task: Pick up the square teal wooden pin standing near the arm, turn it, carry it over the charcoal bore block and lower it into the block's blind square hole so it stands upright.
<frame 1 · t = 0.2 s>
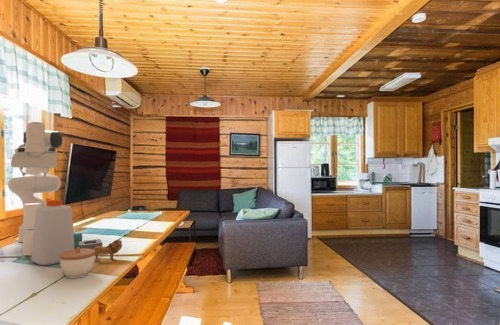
hand: (34, 175, 162), 39 cm above the table, tool pointing down, fingers open, 8 cm apart
bore block: (90, 251, 156), on the table
lidded bowl: (77, 275, 122), on the table
plastic bottle: (53, 260, 142), on the table
teal pin: (77, 248, 162), on the table
lion figurine: (106, 260, 143), on the table
cylindrical container: (31, 254, 152), on the table
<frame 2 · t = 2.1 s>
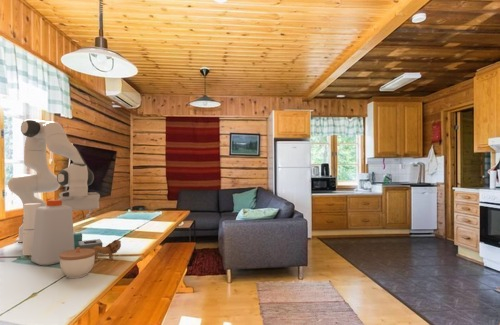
hand: (78, 218, 162), 16 cm above the table, tool pointing down, fingers open, 8 cm apart
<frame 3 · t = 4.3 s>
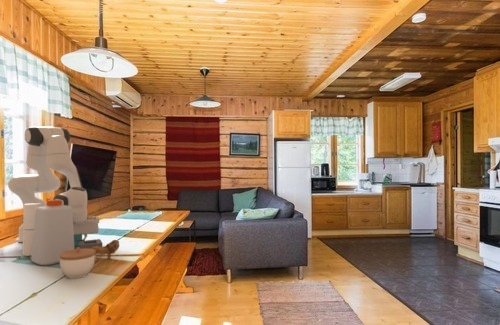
hand: (77, 243, 162), 3 cm above the table, tool pointing down, fingers closed on teal pin, 4 cm apart
teal pin: (77, 248, 162), on the table, touching gripper
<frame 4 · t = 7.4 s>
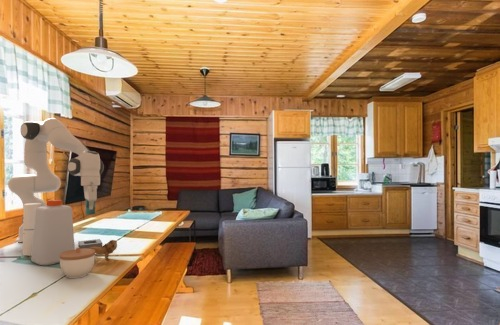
hand: (90, 208, 156), 22 cm above the table, tool pointing down, fingers closed on teal pin, 4 cm apart
teal pin: (90, 214, 156), point 19 cm above the table, touching gripper
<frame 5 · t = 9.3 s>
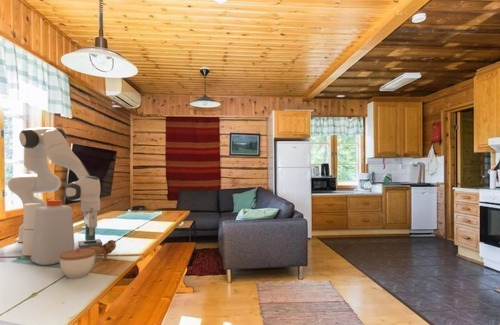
hand: (90, 234, 156), 9 cm above the table, tool pointing down, fingers closed on teal pin, 4 cm apart
teal pin: (90, 239, 156), point 6 cm above the table, touching gripper
when the fingers open (6 cm above the table, at t = 10.6 s): teal pin drops 2 cm, resting on bore block.
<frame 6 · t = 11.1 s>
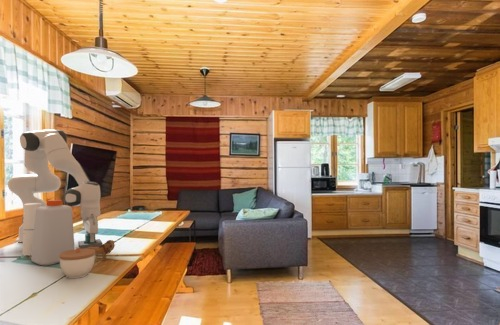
hand: (90, 240, 156), 6 cm above the table, tool pointing down, fingers open, 8 cm apart
teal pin: (90, 249, 156), point 1 cm above the table, touching bore block
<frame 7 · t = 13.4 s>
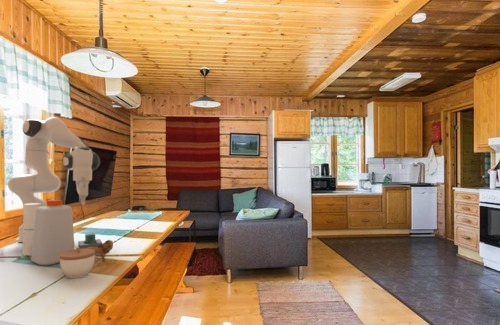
hand: (82, 203, 160), 25 cm above the table, tool pointing down, fingers open, 8 cm apart
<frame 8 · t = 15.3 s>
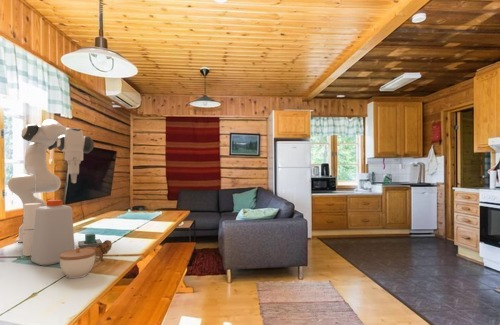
hand: (73, 182, 165), 35 cm above the table, tool pointing down, fingers open, 8 cm apart
at the end: teal pin 0.1 cm off-centre on the bore block, point 1.0 cm above the bore block's base; teal pin tilted 0°; the gripper is holding nothing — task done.
